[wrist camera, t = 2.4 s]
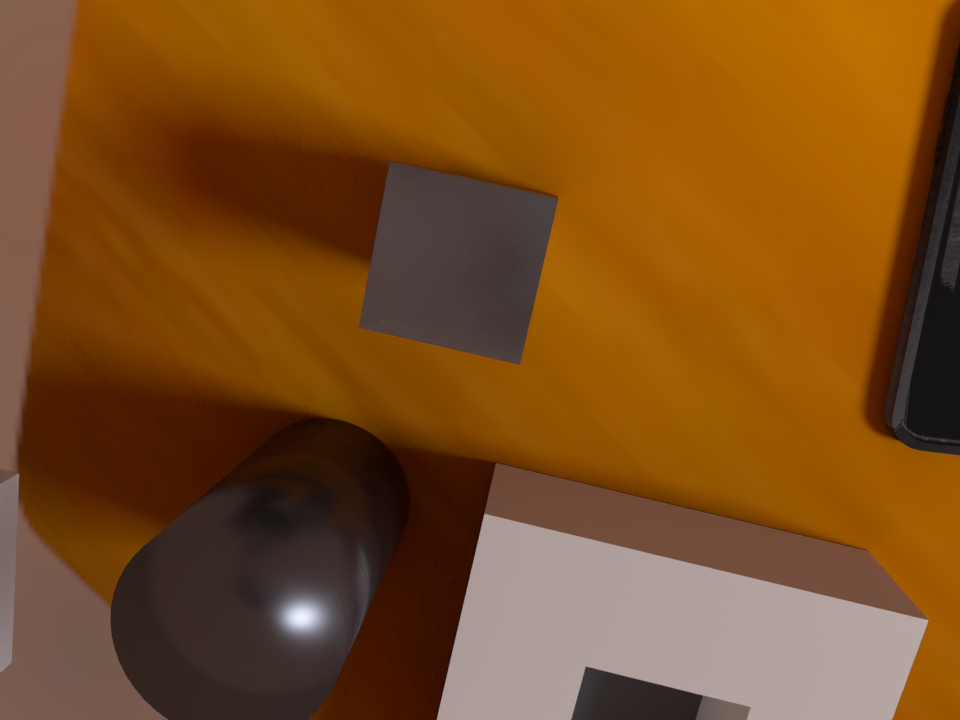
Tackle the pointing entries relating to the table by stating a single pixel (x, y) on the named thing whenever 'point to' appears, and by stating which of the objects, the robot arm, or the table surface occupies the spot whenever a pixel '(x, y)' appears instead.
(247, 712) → the cylinder
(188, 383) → the table surface
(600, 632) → the socket block
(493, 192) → the square bit
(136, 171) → the table surface
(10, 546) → the robot arm
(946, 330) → the phone
